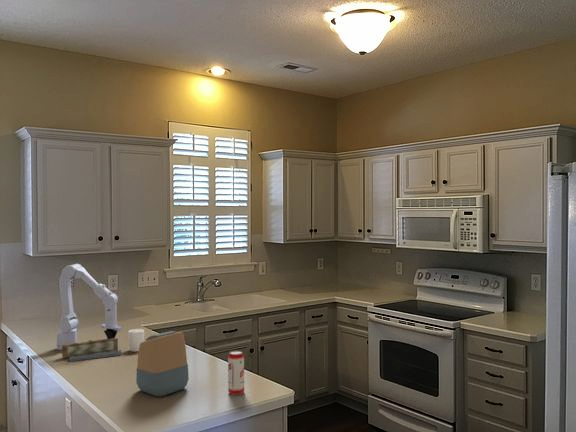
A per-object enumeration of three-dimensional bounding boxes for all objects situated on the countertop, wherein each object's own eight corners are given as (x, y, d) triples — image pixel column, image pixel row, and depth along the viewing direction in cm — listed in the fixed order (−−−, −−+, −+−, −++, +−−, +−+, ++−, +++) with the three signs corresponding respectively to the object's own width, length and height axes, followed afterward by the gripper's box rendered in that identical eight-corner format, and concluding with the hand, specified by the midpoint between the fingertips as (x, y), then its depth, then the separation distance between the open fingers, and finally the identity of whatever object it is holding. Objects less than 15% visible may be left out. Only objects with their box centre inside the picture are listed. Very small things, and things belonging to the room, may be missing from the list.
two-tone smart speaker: (166, 380, 222) (166, 325, 222) (192, 388, 212) (191, 331, 211) (132, 391, 209) (131, 333, 209) (158, 400, 199) (157, 339, 198)
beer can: (244, 389, 209) (244, 350, 209) (243, 395, 203) (243, 354, 203) (229, 390, 209) (228, 350, 209) (227, 395, 203) (227, 354, 203)
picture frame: (62, 358, 255) (62, 344, 255) (62, 356, 257) (62, 343, 257) (117, 350, 268) (117, 337, 268) (116, 349, 270) (116, 336, 270)
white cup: (147, 348, 273) (147, 329, 273) (139, 352, 265) (138, 332, 265) (134, 347, 275) (133, 328, 275) (125, 351, 267) (125, 332, 267)
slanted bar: (69, 361, 251) (69, 357, 251) (69, 359, 253) (69, 355, 253) (121, 355, 261) (121, 351, 261) (121, 353, 263) (120, 349, 263)
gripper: (95, 317, 273) (96, 343, 273) (113, 320, 265) (113, 347, 265) (107, 314, 279) (107, 340, 279) (124, 317, 270) (125, 344, 271)
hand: (111, 343), depth 272 cm, fingers closed
